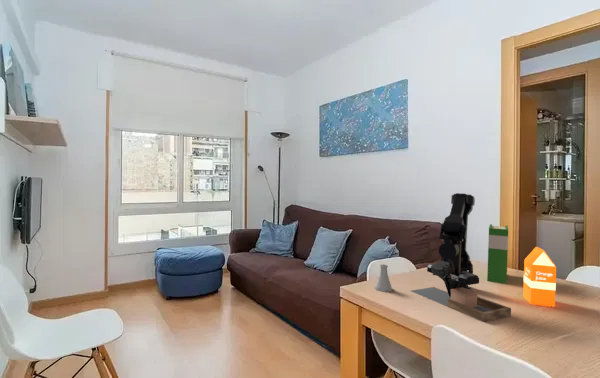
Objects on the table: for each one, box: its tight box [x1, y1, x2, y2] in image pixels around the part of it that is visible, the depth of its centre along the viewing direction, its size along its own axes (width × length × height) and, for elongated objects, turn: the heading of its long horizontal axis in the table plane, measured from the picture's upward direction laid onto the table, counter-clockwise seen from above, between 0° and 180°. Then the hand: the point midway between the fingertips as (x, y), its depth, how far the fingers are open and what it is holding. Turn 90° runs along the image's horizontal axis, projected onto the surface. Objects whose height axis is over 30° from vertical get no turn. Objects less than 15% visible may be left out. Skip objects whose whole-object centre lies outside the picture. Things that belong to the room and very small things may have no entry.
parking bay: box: [447, 295, 512, 323], centre depth 113 cm, size 13×14×2 cm
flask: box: [374, 263, 393, 293], centre depth 135 cm, size 7×7×10 cm
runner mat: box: [410, 286, 491, 323], centre depth 121 cm, size 13×32×1 cm, turn 25°
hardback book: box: [486, 223, 509, 285], centre depth 155 cm, size 18×7×24 cm, turn 149°
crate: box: [451, 287, 479, 308], centre depth 118 cm, size 6×6×5 cm
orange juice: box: [522, 246, 557, 308], centre depth 124 cm, size 8×9×20 cm
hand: (450, 296), depth 123 cm, fingers closed
